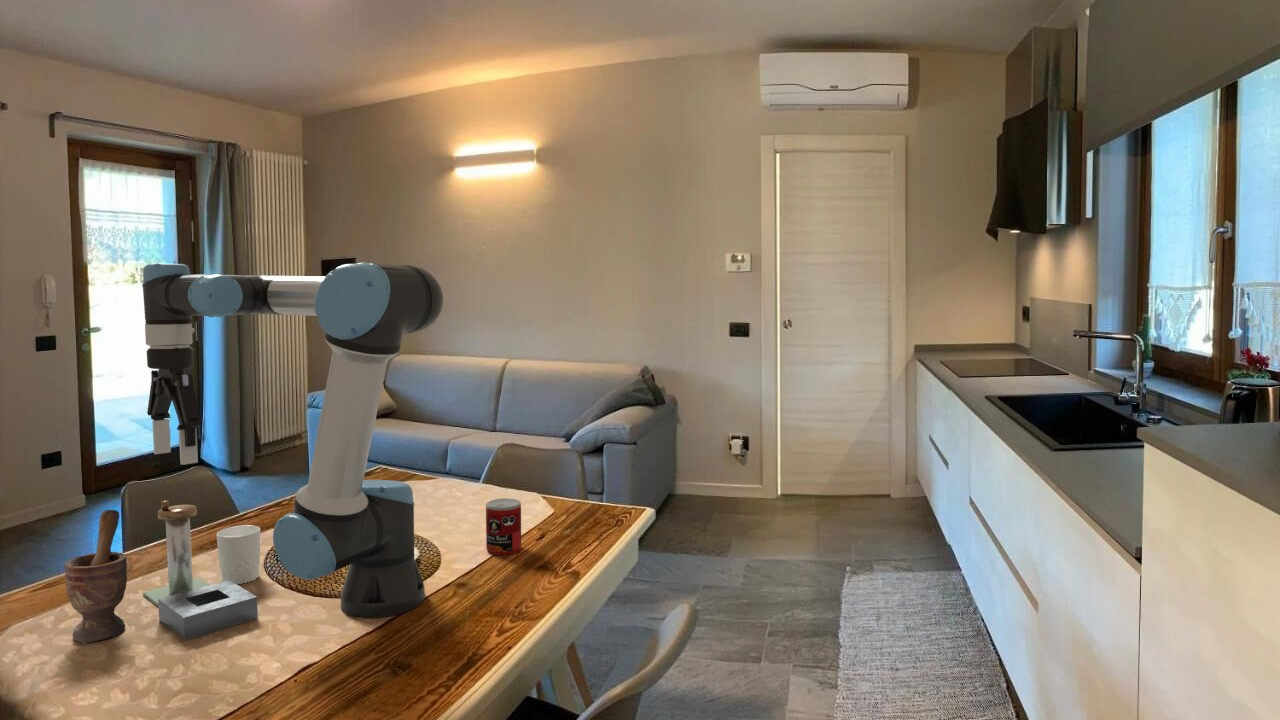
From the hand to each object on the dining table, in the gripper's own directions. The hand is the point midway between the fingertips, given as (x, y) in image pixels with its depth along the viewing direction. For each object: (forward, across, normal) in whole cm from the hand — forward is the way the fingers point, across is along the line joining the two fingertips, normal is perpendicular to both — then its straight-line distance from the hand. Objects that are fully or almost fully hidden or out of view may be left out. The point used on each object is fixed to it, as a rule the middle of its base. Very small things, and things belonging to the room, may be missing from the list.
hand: (175, 458), depth 148 cm
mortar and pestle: (+27, -7, +15) cm, 32 cm away
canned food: (+27, -26, -58) cm, 69 cm away
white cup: (+27, 0, -11) cm, 29 cm away
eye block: (+27, -16, +1) cm, 31 cm away
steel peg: (+26, 0, 0) cm, 26 cm away
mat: (+27, 0, 0) cm, 27 cm away
